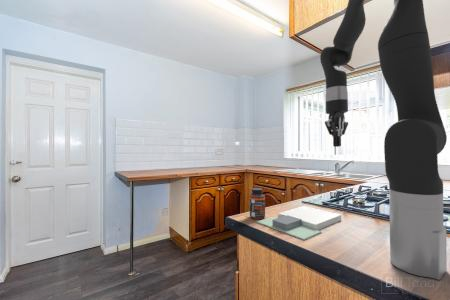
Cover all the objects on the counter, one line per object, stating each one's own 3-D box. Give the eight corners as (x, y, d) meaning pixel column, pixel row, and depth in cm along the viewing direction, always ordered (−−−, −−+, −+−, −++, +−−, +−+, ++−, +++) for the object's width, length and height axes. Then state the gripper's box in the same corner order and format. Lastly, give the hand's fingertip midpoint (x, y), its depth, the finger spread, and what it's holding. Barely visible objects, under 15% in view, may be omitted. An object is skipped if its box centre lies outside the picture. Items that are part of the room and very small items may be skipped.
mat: (321, 232, 72) (321, 231, 72) (304, 240, 66) (304, 238, 66) (273, 217, 88) (273, 216, 88) (256, 222, 83) (256, 221, 83)
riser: (341, 220, 83) (341, 214, 83) (316, 230, 73) (315, 224, 73) (303, 210, 96) (303, 205, 96) (278, 218, 86) (277, 213, 86)
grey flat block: (301, 225, 78) (301, 219, 78) (286, 230, 73) (286, 224, 73) (287, 220, 83) (287, 215, 82) (272, 225, 78) (272, 219, 78)
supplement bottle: (254, 220, 84) (253, 190, 84) (247, 216, 90) (246, 188, 90) (268, 218, 87) (267, 189, 86) (260, 214, 92) (259, 186, 92)
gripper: (337, 96, 78) (338, 146, 78) (355, 100, 85) (356, 146, 86) (317, 100, 84) (318, 147, 84) (335, 103, 91) (336, 146, 92)
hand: (337, 146), depth 85 cm, fingers closed
